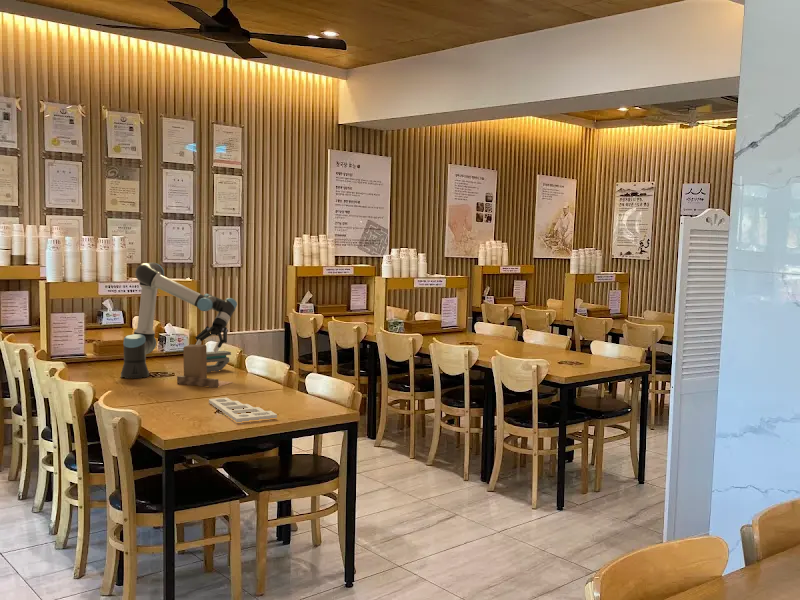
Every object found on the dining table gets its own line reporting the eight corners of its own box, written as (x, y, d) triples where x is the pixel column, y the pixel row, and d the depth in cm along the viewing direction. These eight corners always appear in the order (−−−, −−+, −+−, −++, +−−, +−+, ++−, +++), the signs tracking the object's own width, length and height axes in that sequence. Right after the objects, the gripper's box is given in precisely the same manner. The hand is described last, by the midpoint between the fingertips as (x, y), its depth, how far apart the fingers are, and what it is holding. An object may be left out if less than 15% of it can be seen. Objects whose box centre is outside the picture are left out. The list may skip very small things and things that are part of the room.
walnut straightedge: (177, 383, 399) (177, 376, 399) (180, 382, 402) (180, 375, 402) (215, 387, 389) (214, 380, 389) (218, 386, 392) (218, 379, 392)
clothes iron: (191, 374, 430) (191, 355, 429) (185, 372, 436) (185, 353, 435) (231, 370, 445) (230, 352, 444) (225, 368, 451) (225, 350, 451)
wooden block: (207, 380, 411) (207, 344, 409) (200, 383, 401) (200, 347, 399) (190, 379, 412) (189, 344, 410) (183, 382, 402) (182, 346, 400)
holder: (208, 404, 351) (208, 399, 351) (245, 401, 360) (245, 395, 360) (236, 425, 312) (236, 418, 312) (277, 420, 321) (277, 414, 320)
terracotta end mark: (199, 384, 398) (199, 383, 398) (213, 380, 409) (213, 380, 409) (219, 386, 393) (219, 385, 393) (232, 382, 404) (232, 382, 404)
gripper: (242, 326, 422) (226, 356, 409) (206, 324, 431) (189, 353, 419) (236, 318, 416) (220, 348, 404) (200, 316, 426) (183, 345, 413)
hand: (204, 350), depth 411 cm, fingers open, 13 cm apart
